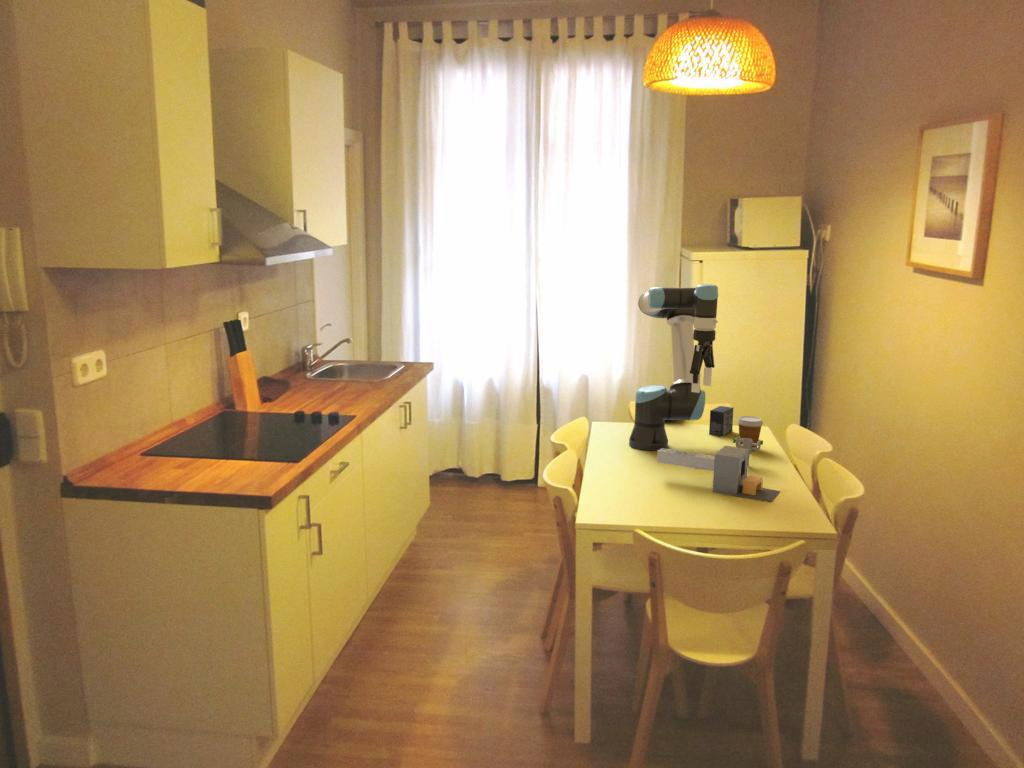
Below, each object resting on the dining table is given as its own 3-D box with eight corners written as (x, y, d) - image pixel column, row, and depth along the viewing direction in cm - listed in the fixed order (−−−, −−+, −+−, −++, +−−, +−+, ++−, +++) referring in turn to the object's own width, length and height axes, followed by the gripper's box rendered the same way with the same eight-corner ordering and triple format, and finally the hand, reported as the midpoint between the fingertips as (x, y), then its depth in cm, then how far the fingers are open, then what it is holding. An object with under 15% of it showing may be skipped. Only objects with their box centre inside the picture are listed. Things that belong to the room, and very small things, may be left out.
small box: (718, 429, 359) (719, 405, 357) (732, 431, 355) (734, 407, 353) (708, 434, 350) (709, 409, 348) (723, 437, 346) (724, 412, 344)
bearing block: (712, 492, 278) (714, 454, 275) (722, 482, 288) (724, 445, 285) (736, 496, 274) (739, 457, 271) (746, 486, 284) (748, 449, 281)
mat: (733, 496, 274) (733, 494, 274) (743, 485, 285) (743, 484, 284) (771, 502, 269) (771, 501, 268) (779, 492, 279) (779, 490, 279)
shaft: (657, 462, 290) (657, 450, 289) (661, 459, 293) (661, 448, 292) (732, 474, 277) (733, 462, 276) (736, 471, 281) (736, 459, 280)
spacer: (742, 492, 276) (743, 479, 275) (749, 487, 282) (750, 474, 281) (754, 495, 274) (755, 482, 273) (761, 489, 280) (762, 476, 279)
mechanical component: (761, 467, 305) (763, 440, 303) (731, 465, 307) (733, 439, 305) (760, 465, 308) (762, 438, 306) (731, 463, 310) (733, 437, 308)
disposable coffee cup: (734, 450, 327) (736, 420, 325) (737, 444, 336) (739, 414, 333) (759, 453, 323) (761, 422, 321) (762, 447, 332) (764, 417, 330)
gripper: (704, 334, 283) (701, 396, 287) (725, 325, 304) (721, 383, 308) (682, 332, 286) (679, 393, 291) (704, 324, 308) (701, 381, 312)
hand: (701, 388), depth 299 cm, fingers open, 13 cm apart
